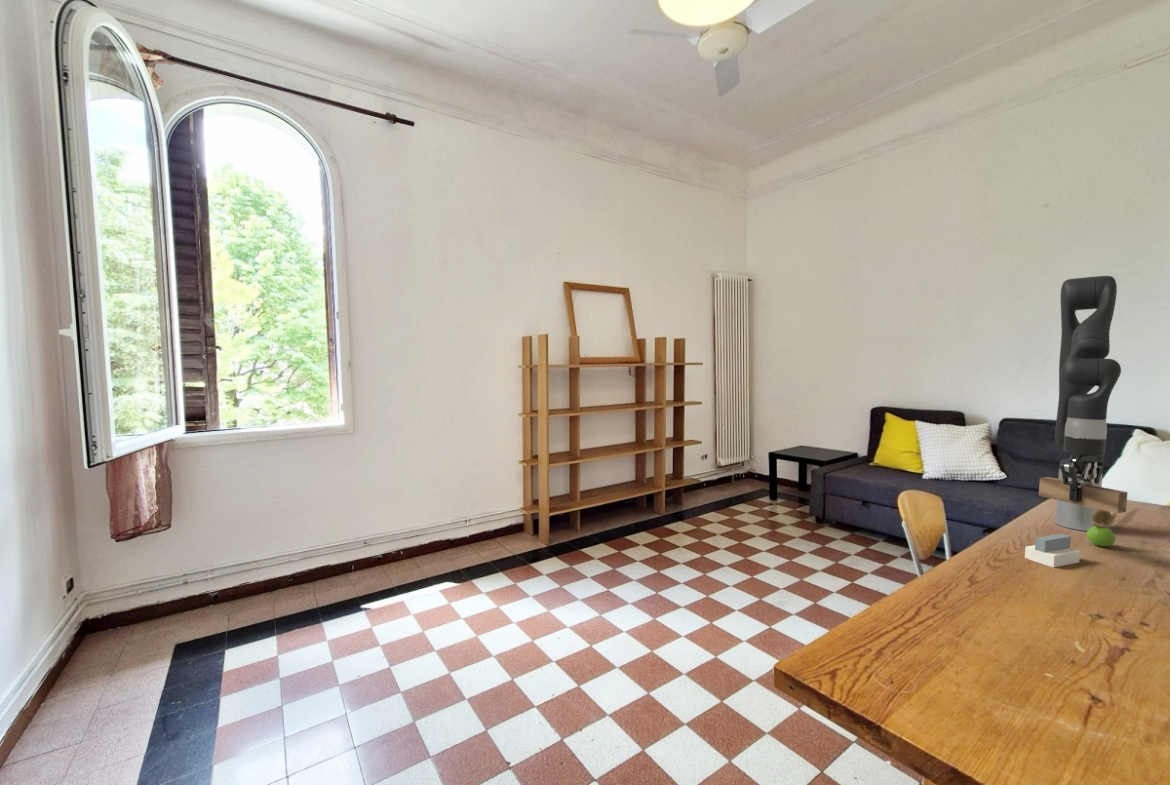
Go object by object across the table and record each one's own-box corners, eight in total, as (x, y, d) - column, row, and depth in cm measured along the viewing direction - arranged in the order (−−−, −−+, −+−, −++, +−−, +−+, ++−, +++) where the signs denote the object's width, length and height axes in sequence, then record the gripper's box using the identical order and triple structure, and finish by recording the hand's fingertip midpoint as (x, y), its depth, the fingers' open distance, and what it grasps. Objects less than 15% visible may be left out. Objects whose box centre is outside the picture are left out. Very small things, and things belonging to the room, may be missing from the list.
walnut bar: (1046, 494, 134) (1048, 476, 134) (1125, 512, 119) (1127, 492, 119) (1038, 495, 133) (1039, 477, 133) (1117, 513, 118) (1118, 493, 118)
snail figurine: (1124, 550, 129) (1128, 506, 128) (1100, 549, 129) (1103, 506, 129) (1103, 542, 135) (1106, 500, 134) (1080, 542, 135) (1083, 500, 134)
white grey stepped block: (1050, 553, 127) (1051, 531, 126) (1079, 562, 121) (1081, 539, 121) (1024, 557, 124) (1026, 535, 123) (1053, 567, 118) (1055, 543, 118)
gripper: (1083, 432, 130) (1078, 494, 132) (1049, 434, 126) (1044, 499, 127) (1121, 436, 123) (1115, 502, 125) (1086, 439, 119) (1081, 507, 120)
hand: (1079, 500), depth 126 cm, fingers closed on walnut bar, 3 cm apart
